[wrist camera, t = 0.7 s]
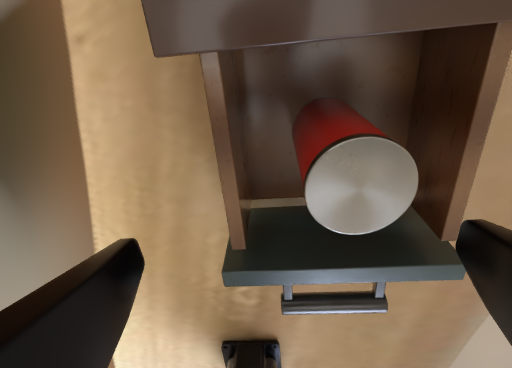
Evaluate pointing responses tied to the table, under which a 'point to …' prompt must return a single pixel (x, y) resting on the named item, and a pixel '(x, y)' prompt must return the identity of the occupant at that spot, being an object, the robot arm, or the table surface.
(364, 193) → the tin
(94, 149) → the table surface
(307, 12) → the desk unit
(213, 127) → the drawer
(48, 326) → the robot arm
